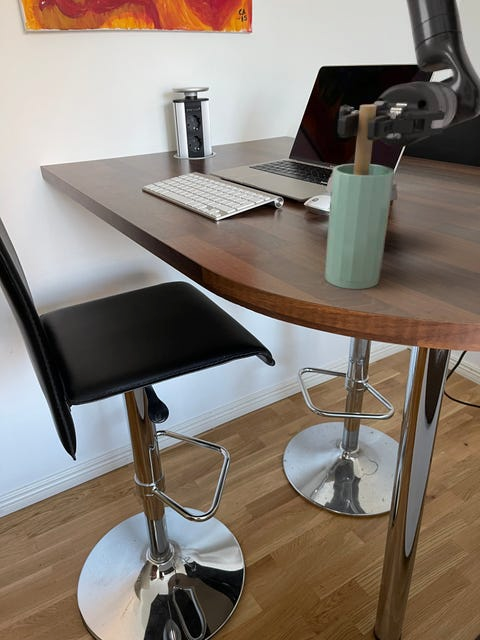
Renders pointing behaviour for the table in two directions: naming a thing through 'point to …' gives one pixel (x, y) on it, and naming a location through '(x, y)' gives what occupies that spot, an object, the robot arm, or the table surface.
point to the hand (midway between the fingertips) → (356, 128)
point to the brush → (363, 140)
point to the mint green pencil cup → (357, 226)
